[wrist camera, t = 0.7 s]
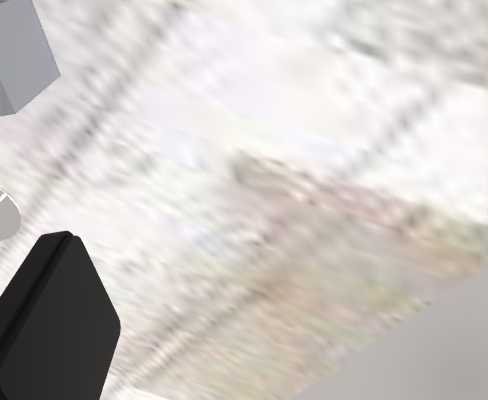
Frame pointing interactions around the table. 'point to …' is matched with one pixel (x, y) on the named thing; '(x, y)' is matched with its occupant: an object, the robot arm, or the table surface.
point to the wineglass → (9, 216)
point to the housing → (22, 56)
